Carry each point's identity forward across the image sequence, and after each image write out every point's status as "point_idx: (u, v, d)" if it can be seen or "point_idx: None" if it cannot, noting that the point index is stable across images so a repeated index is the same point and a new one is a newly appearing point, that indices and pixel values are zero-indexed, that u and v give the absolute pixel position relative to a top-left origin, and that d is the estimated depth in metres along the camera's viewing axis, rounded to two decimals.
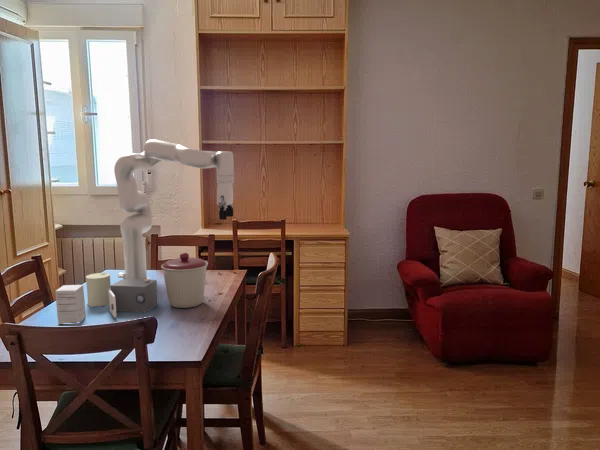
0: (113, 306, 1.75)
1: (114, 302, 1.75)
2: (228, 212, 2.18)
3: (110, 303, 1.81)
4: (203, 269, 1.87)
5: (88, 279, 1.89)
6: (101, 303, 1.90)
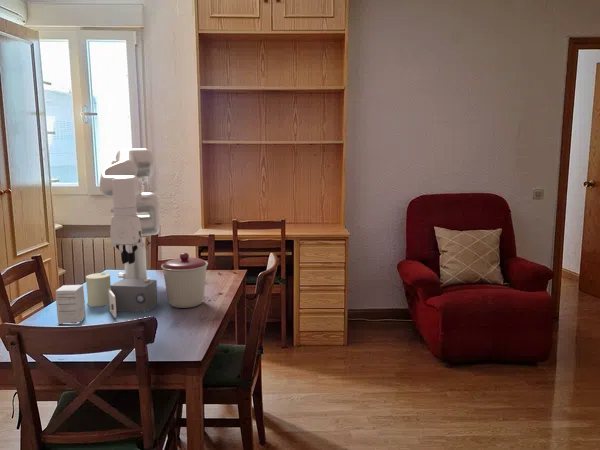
0: (113, 306, 1.75)
1: (114, 302, 1.75)
2: (125, 258, 1.71)
3: (110, 303, 1.81)
4: (203, 269, 1.87)
5: (88, 279, 1.89)
6: (101, 303, 1.90)
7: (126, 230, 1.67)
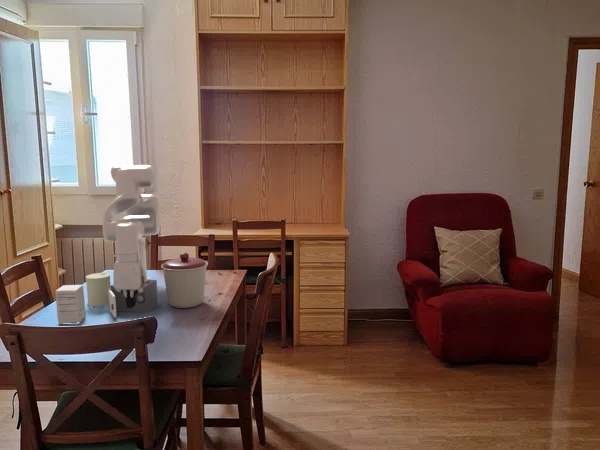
0: (113, 306, 1.75)
1: (114, 302, 1.75)
2: None
3: (110, 303, 1.81)
4: (203, 269, 1.87)
5: (88, 279, 1.89)
6: (101, 303, 1.90)
7: (128, 276, 1.70)
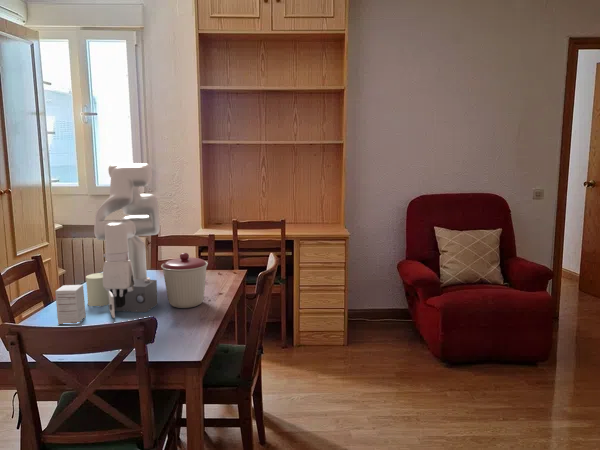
0: (111, 306, 1.75)
1: (112, 302, 1.75)
2: None
3: None
4: (203, 269, 1.87)
5: (88, 279, 1.89)
6: (101, 303, 1.90)
7: (118, 275, 1.70)
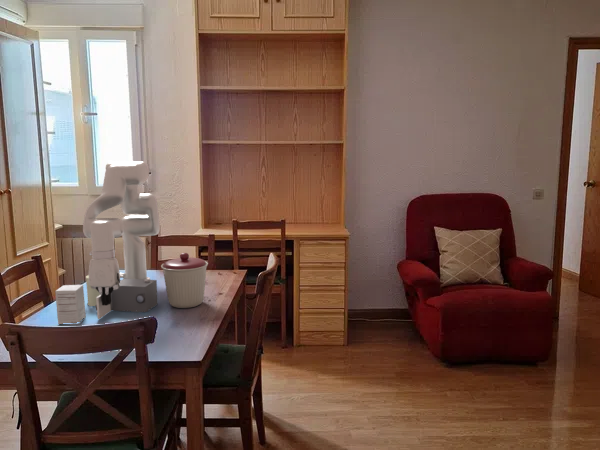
0: (96, 307, 1.74)
1: (97, 303, 1.74)
2: None
3: None
4: (203, 269, 1.87)
5: (88, 279, 1.89)
6: None
7: (103, 273, 1.70)
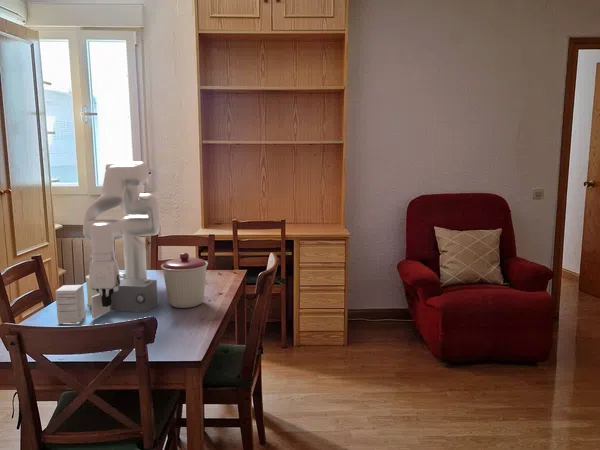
0: (91, 307, 1.74)
1: (91, 303, 1.74)
2: None
3: None
4: (203, 269, 1.87)
5: (88, 279, 1.89)
6: None
7: (103, 275, 1.71)
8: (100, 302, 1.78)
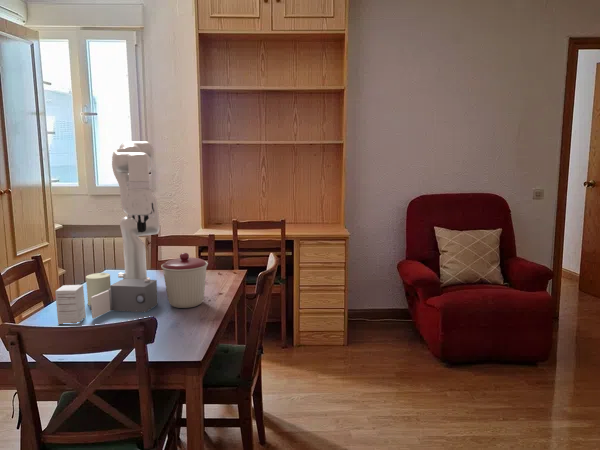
0: (91, 307, 1.74)
1: (91, 303, 1.74)
2: None
3: None
4: (203, 269, 1.87)
5: (88, 279, 1.89)
6: None
7: (140, 202, 1.85)
8: (100, 302, 1.78)
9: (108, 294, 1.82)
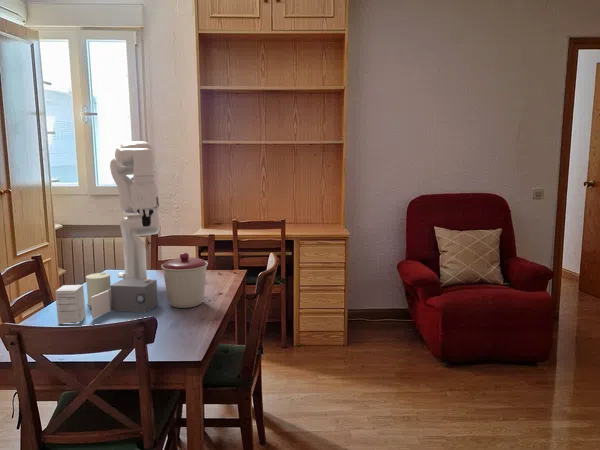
0: (91, 307, 1.74)
1: (91, 303, 1.74)
2: None
3: None
4: (203, 269, 1.87)
5: (88, 279, 1.89)
6: None
7: (145, 196, 1.88)
8: (100, 302, 1.78)
9: (108, 294, 1.82)
